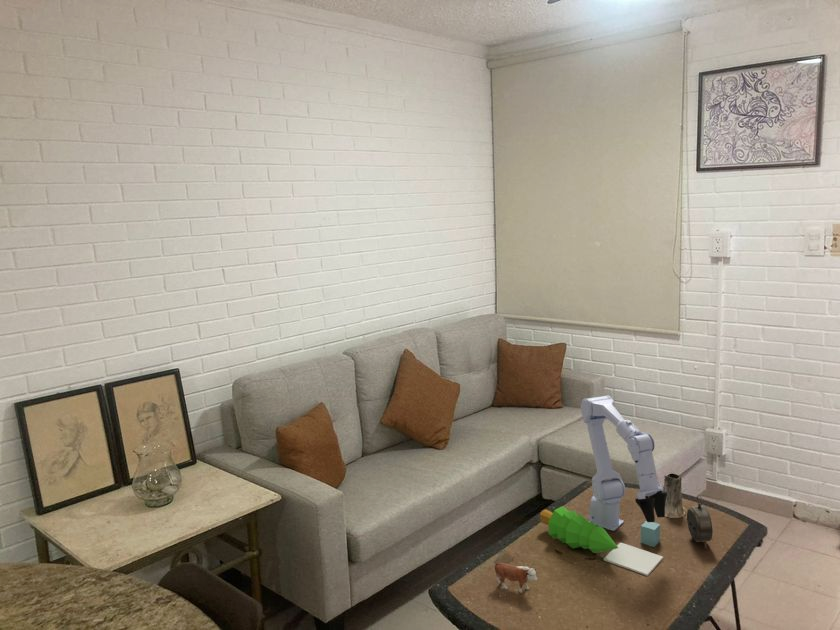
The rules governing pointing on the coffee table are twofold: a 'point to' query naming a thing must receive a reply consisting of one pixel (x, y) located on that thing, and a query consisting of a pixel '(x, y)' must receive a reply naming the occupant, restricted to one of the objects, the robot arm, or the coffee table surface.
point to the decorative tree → (576, 530)
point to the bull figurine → (515, 574)
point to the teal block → (650, 533)
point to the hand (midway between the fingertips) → (656, 519)
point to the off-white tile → (633, 559)
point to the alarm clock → (699, 523)
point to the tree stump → (673, 496)
